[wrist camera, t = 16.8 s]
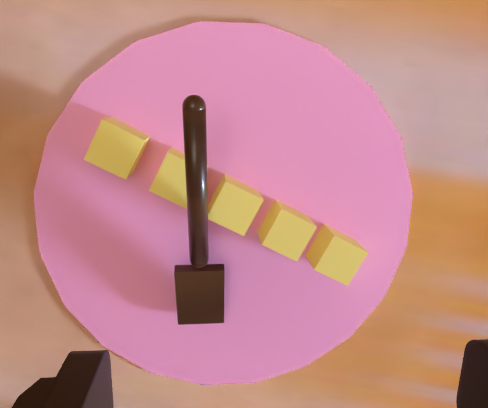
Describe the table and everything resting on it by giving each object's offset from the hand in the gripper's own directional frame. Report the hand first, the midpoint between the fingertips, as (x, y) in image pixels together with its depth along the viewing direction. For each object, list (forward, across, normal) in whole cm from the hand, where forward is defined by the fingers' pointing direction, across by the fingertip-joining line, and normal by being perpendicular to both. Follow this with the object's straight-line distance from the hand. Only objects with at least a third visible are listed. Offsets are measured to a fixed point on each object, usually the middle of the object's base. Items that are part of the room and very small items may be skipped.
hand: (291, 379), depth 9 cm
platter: (+26, 0, +4) cm, 27 cm away
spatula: (+22, +3, +4) cm, 23 cm away
